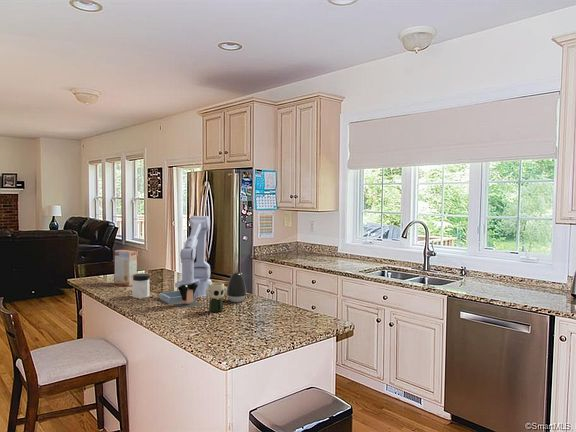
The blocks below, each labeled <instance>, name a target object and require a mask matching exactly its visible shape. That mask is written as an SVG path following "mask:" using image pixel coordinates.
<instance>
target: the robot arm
mask: <svg viewBox="0 0 576 432" xmlns="http://www.w3.org/2000/svg"><path fill="white" fill-rule="evenodd" d="M189 225H190V226H189V227H190V228H191V229H190V235H189V236H188V237H187V238H186V240H185V243H184V246H183V248H182V249H180V254H179V256H180V263H181V281H178V282H175V283H174V287H175V288H177V290H178V291H180V293H181V297H182V300H184V301H186V298H187V290H188V289H192V290H193V296H194V294H195V295H196V298H199V297H207V296H206V289H209V284H210V283H213V282H212V279H210V278H211V272H212V271H211V265H210V264H209V263H208V261H206V252H207V251H206V250H207V249H206V248H207V246H206V244H207V233H208V232H209V231H210V230H211V219H210V217H209V216H208V215H191V216H190V218H189ZM195 259H196V261H195ZM208 294H209V291H208Z"/></svg>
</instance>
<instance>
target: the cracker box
mask: <svg viewBox="0 0 576 432" xmlns="http://www.w3.org/2000/svg"><path fill="white" fill-rule="evenodd" d="M137 252H138V251H137V250H129V249H117V250H114V284H115V285H120V286H126V287H132V281H133V275H134V274H138V273H137V272H138V271H137V270H138V266H137V265H138V262H137V261H138V257H137V256H138V253H137Z"/></svg>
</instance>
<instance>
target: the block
mask: <svg viewBox="0 0 576 432" xmlns="http://www.w3.org/2000/svg"><path fill="white" fill-rule="evenodd" d="M181 302H182V303H190V302H193V290H192V289H188V290H187V298H186V301H184V300H182V297H181Z"/></svg>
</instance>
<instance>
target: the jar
mask: <svg viewBox="0 0 576 432" xmlns="http://www.w3.org/2000/svg"><path fill="white" fill-rule="evenodd" d="M131 287H132V291H131V293H132V294H131V295H132V298H137V299H142V298H148V297H149V296H150V287H151V286H150V274H149V273H137V274H134V275H133V281H132V286H131Z"/></svg>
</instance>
